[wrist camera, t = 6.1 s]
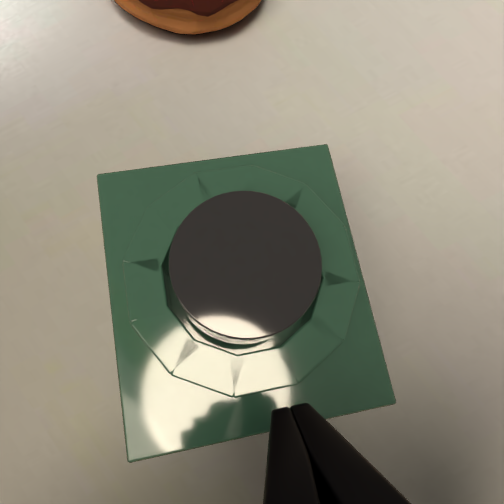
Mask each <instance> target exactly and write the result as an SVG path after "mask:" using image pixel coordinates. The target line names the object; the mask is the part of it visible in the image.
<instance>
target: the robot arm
mask: <svg viewBox="0 0 504 504" xmlns="http://www.w3.org/2000/svg"><path fill="white" fill-rule="evenodd" d="M263 504H411V503H410V502H409V501H408V500H407V499H406V498H405V497H404V496H403V495H402V494H401V493H400V492H399V491H398V490H397V489H396V488H395V487H394V486H393V485H392V484H391V483H390V482H389V481H388V480H387V479H386V478H385V477H384V476H383V475H382V474H381V473H380V472H379V471H378V470H377V469H376V468H375V467H374V466H373V465H371V464H370V463H369V462H368V461H367V460H366V459H365V458H364V457H363V456H362V455H361V454H360V453H359V452H358V451H357V450H356V449H355V448H354V447H353V446H352V445H351V444H350V443H349V442H348V441H347V440H346V439H345V438H344V437H343V436H342V435H341V434H340V433H339V432H338V431H337V430H336V429H335V428H334V427H333V426H332V425H331V424H330V423H329V422H328V421H327V420H325V419H324V418H323V417H322V416H321V415H320V414H319V413H318V412H317V411H316V410H315V409H314V408H313V407H312V406H311V405H310V404H309V403H301V404H296V405H292V406H291V407H290V408H289V407H282V408H278V409H274V410H272V412H271V421H270V432H269V444H268V455H267V466H266V477H265V488H264V499H263Z"/></svg>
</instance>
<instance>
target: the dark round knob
mask: <svg viewBox="0 0 504 504" xmlns="http://www.w3.org/2000/svg"><path fill="white" fill-rule="evenodd" d="M168 265H169V275H170V280H171V284H172V287H173V290H174V293H175V295H176V297H177V299H178V302H179V304H180V306H181V307H182V309H183V311H184V313H185V314H186V315H187V317H188V318H189V319H190V321H191V322H192V323H193V324H194V325H195V326H196V327H198V328H199V329H200V330H201V331H203V332H204V333H206V334H208V335H209V336H211V337H213V338H216V339H218V340H221V341H224V342H228V343H235V344H251V343H257V342H261V341H265V340H267V339H270V338H272V337H274V336H276V335H278V334H279V333H281V332H282V331H284V330H286V329H287V328H289V327H290V326H291V325H293V324H294V323H295V322H297V321H298V320H299V319H300V318H301V317H302V316H303V315H304V314H305V313H306V311H307V310H308V308H309V307H310V306H311V304H312V302H313V300H314V299H315V297H316V294H317V292H318V289H319V286H320V281H321V275H322V257H321V252H320V247H319V244H318V241H317V239H316V236H315V234H314V232H313V230H312V229H311V227H310V226H309V224H308V223H307V221H306V220H305V219H304V218H303V216H302V215H301V214H300V213H298V212H297V211H296V210H295V209H294V208H293V207H291V206H290V205H289V204H287V203H286V202H284V201H282V200H280V199H278V198H276V197H274V196H271V195H268V194H265V193H261V192H255V191H232V192H227V193H223V194H220V195H217V196H214V197H212V198H210V199H208V200H206V201H204V202H203V203H201V204H200V205H198V206H197V207H196V208H195V209H193V210H192V211H191V212H190V213H189V214H188V215H187V216H186V217H185V219H184V220H183V221H182V223H181V224H180V226H179V227H178V229H177V231H176V233H175V235H174V238H173V241H172V243H171V247H170V252H169V264H168Z"/></svg>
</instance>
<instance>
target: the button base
mask: <svg viewBox="0 0 504 504" xmlns="http://www.w3.org/2000/svg"><path fill="white" fill-rule="evenodd" d="M97 184H98V193H99V202H100V212H101V221H102V230H103V239H104V249H105V258H106V267H107V276H108V286H109V295H110V304H111V314H112V323H113V332H114V341H115V351H116V360H117V369H118V378H119V388H120V397H121V406H122V416H123V425H124V434H125V443H126V453H127V461H128V462H129V463H132V462H136V461H141V460H145V459H150V458H154V457H159V456H163V455H168V454H172V453H177V452H181V451H186V450H190V449H195V448H199V447H204V446H208V445H213V444H217V443H222V442H226V441H231V440H235V439H240V438H244V437H249V436H253V435H258V434H262V433H267V432H270V421H271V412H272V410H274V409H278V408H282V407H289V408H290V407H291V406H292V405H296V404H301V403H309V404H310V405H311V406H312V407H313V408H314V409H315V410H316V411H317V412H318V413H319V414H320V415H321V416H322V417H323V418H324V419H330V418H334V417H339V416H343V415H348V414H352V413H357V412H361V411H366V410H370V409H375V408H379V407H384V406H388V405H393V404H395V403H396V400H395V396H394V392H393V389H392V385H391V381H390V377H389V374H388V370H387V366H386V362H385V359H384V355H383V351H382V347H381V344H380V340H379V336H378V332H377V328H376V325H375V321H374V317H373V313H372V310H371V306H370V302H369V298H368V295H367V291H366V287H365V283H364V280H363V276H362V272H361V268H360V265H359V261H358V257H357V253H356V250H355V246H354V242H353V238H352V234H351V231H350V227H349V223H348V219H347V216H346V212H345V208H344V204H343V201H342V197H341V193H340V189H339V186H338V182H337V178H336V174H335V171H334V167H333V163H332V159H331V155H330V152H329V148H328V145H327V144H324V145H316V146H309V147H301V148H294V149H286V150H278V151H271V152H263V153H256V154H248V155H241V156H233V157H225V158H218V159H210V160H203V161H195V162H187V163H180V164H172V165H165V166H157V167H149V168H142V169H134V170H127V171H119V172H112V173H104V174H98V175H97ZM232 191H255V192H261V193H265V194H268V195H271V196H274V197H276V198H278V199H280V200H282V201H284V202H286V203H287V204H289V205H290V206H291V207H293V208H294V209H295V210H296V211H297V212H298V213H300V214H301V215H302V216H303V218H304V219H305V220H306V221H307V223H308V224H309V226H310V227H311V229H312V230H313V232H314V234H315V236H316V239H317V241H318V244H319V247H320V252H321V257H322V275H321V281H320V286H319V289H318V292H317V294H316V297H315V299H314V300H313V302H312V304H311V306H310V307H309V308H308V310H307V311H306V313H305V314H304V315H303V316H302V317H301V318H300V319H299V320H298V321H297V322H295V323H294V324H293V325H291V326H290V327H289V328H287V329H286V330H284V331H282V332H281V333H279V334H278V335H276V336H274V337H272V338H270V339H267V340H265V341H261V342H257V343H251V344H235V343H228V342H224V341H221V340H218V339H216V338H213V337H211V336H209V335H208V334H206V333H204V332H203V331H201V330H200V329H199V328H198V327H196V326H195V325H194V324H193V323H192V322H191V321H190V319H189V318H188V317H187V315H186V314H185V313H184V311H183V309H182V307H181V306H180V304H179V302H178V299H177V297H176V295H175V293H174V290H173V287H172V284H171V280H170V275H169V265H168V264H169V252H170V247H171V243H172V241H173V238H174V235H175V233H176V231H177V229H178V227H179V226H180V224H181V223H182V221H183V220H184V219H185V217H186V216H187V215H188V214H189V213H190V212H191V211H192V210H193V209H195V208H196V207H197V206H198V205H200V204H201V203H203V202H204V201H206V200H208V199H210V198H212V197H214V196H217V195H220V194H223V193H227V192H232Z"/></svg>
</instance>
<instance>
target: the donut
mask: <svg viewBox="0 0 504 504" xmlns="http://www.w3.org/2000/svg"><path fill="white" fill-rule="evenodd" d="M114 1H115V2H116V3H117V4H118V5H119V6H120V7H121V8H123V9H124V10H125V11H127V12H128V13H130V14H131V15H133V16H134V17H136V18H138V19H140V20H142V21H145V22H147V23H149V24H151V25H153V26H156V27H159V28H162V29H165V30H168V31H171V32H175V33H180V34H200V33H205V32H211V31H217V30H220V29H223V28H226V27H229V26H231V25H232V24H234V23H236V22H238V21H240V20H242V19H243V18H244V17H245V16H247V15H248V14H249V13H250V12H251V11H253V10H254V9H255V8H256V7H257V6H258V5H259V3H260V2H261V0H114Z"/></svg>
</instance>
